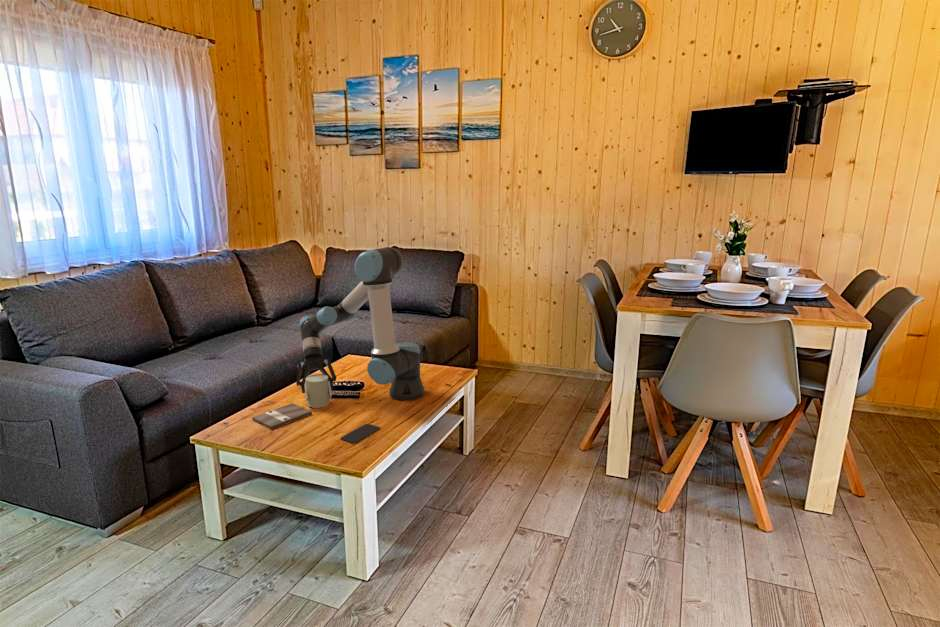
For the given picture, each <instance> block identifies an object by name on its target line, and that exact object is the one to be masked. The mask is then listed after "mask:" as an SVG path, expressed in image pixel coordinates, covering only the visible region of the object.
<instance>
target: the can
mask: <svg viewBox="0 0 940 627" xmlns="http://www.w3.org/2000/svg"><path fill="white" fill-rule="evenodd" d="M305 380H306V382H305V384H306V387H307V395H308V401H306V406H307V407H308V406H309V407H308V408H310V407H312V408H311V409H321V408H320V407H322V408H325V407H324V406H326V407H327V405H328V404H329V403H330V404H331V401H330V397H329V387H328V376H327V375H324V374H322V373H314V374H310V375H308V377H306V379H305ZM330 404H329V405H330ZM329 405H328V406H329Z"/></svg>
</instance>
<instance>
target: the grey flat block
mask: <svg viewBox="0 0 940 627" xmlns="http://www.w3.org/2000/svg"><path fill="white" fill-rule="evenodd" d="M312 412H313V411H312V410H309V409H307V408H305V407H303V406H300V405H297V404H296V403H293V402H292V403H289V404H286V405H283V406H280V407H277V408H275V409H271V410H267V411H266V412H264V413H261V414H257V415H256V416H255V415H254V416H252V418H251V419H252V421H253V422H255V423H257V424H259V425H262V426H263V427H265V426H266V427H265V428H267V427H268V428H267V429H269V428H270V430H271V429H272V430H274V429H276V427H277V428H279V426H280V427H281V426H285V425H287V424H290V423H292V421H293V422H295V421H298V420H301V419H303V418H305V416H306V417H308V416H311V415H312ZM310 414H311V415H310ZM307 415H308V416H307ZM302 417H303V418H302ZM297 419H298V420H297ZM294 420H295V421H294ZM289 422H290V423H289ZM286 423H287V424H286ZM284 424H285V425H284ZM273 428H274V429H273Z"/></svg>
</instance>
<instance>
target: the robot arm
mask: <svg viewBox="0 0 940 627" xmlns="http://www.w3.org/2000/svg"><path fill="white" fill-rule="evenodd" d="M403 266H404V258H403V255H402V254H401V252H400V251H399V250H398V249H397V248H394V247H391V246H386V247H380V248H374V249H368V250H366V251H363V252H362V253H360V254H359V255H358V256H357V257H356V260H355V263H354V270H355V274H356V276H357V277H358V279H359V280H360V282H359V283H358V284H357V285H356V286H355V287H354V288H353V290H352V291H351V292H349V293H348V295H346V297H344V298H343V300H341V302H339V304H338V305H337V306H336V305H335V306H333V307H332V306H328V305H327V306H323V307H322V308H320V309H319V310H318V311H317V312H316V313H314V315H306V316H303V317H301V318H300V321H299V330H300V335H301V336H300V337H301V342H302V343H301V344H302V349H303V350H302V351H303V361H302V362H300V361H297V366H296V367H297V374H296V382H295V383H296V386H300V389H301V394H304V397H305V402H307V401H308V395H307V387H306V380H305V379H306V377H308V376H310V375H309V374H311V373H310V372H311V371H320V372H321V374H324V375H327V376H328V387H329V399H332V396H333V395H332V390H334V382H336V381H337V376H336V373H335V370H334V369H333V365H332V364H331V361H332V359H331V358H328V359H324V358H323V353H322V345H321V338H320V334H321V333H322V332H324V331H325V330H326V329H327V328H330V327H332V326H335V325H337V324H341V323H343V322H346V321H347V322H349V321H350V320H351V319H354V318H355V317H356V314H357V311H358V310H359V309H360V308H361V307H362V306H363V305H364V304H365V303H366V302H367V301H368V304H369V312H370V313H369V315H370V322H371V329H372V330H371V332H372V339H373V347H372V349H371V351H370V354H371V355H370V356H371V359H370V360H369V361H368V363H367V366H366V369H367V374H368V376H369V377H370V379H371V380H373V382H374V383H376V384H377V385H383V386H384V385H389V384H391V385H390V387H389V397H390V398H392V399H393V400H397V401H415V400H418V399H421V398H422V397H424V396H425V387H424V384H423V381H422V378H421V350H420V345H419V344H418V343H414V342H410V341H397V342H396V336H395V328H394V320H393V311H392V310H393V309H392V300H391V292H390V286H391V285H392V284H393V280H394V279H395V277H396V276H397V275H398V274H399V273H400V272H401V271H402V269H403ZM324 364H325V365H326V366H327V369H328V371H329V373H330V374H329V373H328V372H327V369H325V367H324V366H323V365H324ZM303 367H306V370H305V372H304V375H303V378H302V380H301V375H302V368H303Z"/></svg>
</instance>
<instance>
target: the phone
mask: <svg viewBox="0 0 940 627" xmlns="http://www.w3.org/2000/svg"><path fill="white" fill-rule="evenodd" d="M379 429H380V430H381V427H380V426H377V425H373V424H370V423H364V425H361V426H359V427H358V428H356V429H354V430H352V431H350V432H349V433H347V434H344V435H343V436H341V437H340V441H342V440H343V441H342V442H345V441H346V443H348V442H350V443H349V444H351V443H356V444H358V443H360V442H361V441H360V440H362V439H363V440H365V439H366V438H365V437H367V436H368V437H370V436H371V435H370V434H372V433H373V434H375V433H377V432H378V431H380V430H379ZM377 430H378V431H377ZM376 431H377V432H376ZM374 432H375V433H374ZM373 434H372V435H373ZM369 435H370V436H369ZM368 437H367V438H368ZM364 438H365V439H364ZM363 440H362V441H363ZM359 441H360V442H359ZM357 442H358V443H357Z"/></svg>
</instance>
